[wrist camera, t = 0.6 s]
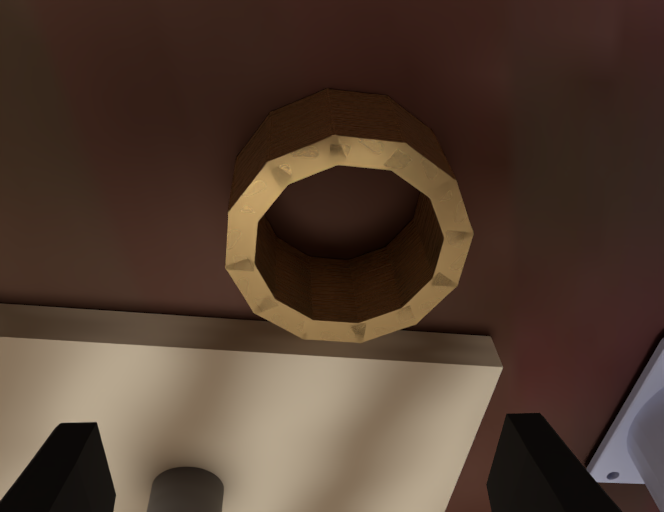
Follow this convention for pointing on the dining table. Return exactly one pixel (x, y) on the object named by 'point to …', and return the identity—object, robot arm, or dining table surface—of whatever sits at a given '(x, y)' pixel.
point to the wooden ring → (366, 270)
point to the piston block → (245, 409)
